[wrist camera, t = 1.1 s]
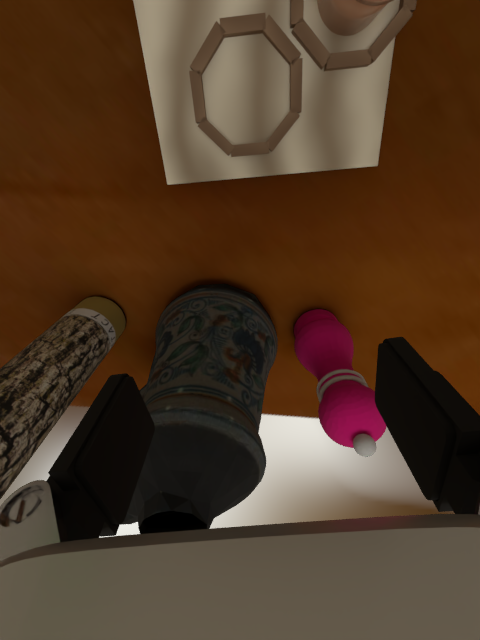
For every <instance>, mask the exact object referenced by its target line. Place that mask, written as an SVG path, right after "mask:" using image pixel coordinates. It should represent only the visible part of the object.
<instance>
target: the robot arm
mask: <svg viewBox="0 0 480 640" xmlns="http://www.w3.org/2000/svg"><path fill="white" fill-rule="evenodd" d="M375 404H376V407H377V409H378V411H379V413H380V415H381V416H382V418H383V420H384V422H385V424H386V426H387V427H388V429H389V431H390V433H391V435H392V437H393V439H394V441H395V442H396V444H397V446H398V448H399V450H400V452H401V454H402V455H403V457H404V459H405V461H406V463H407V465H408V467H409V468H410V470H411V472H412V474H413V476H414V478H415V480H416V482H417V483H418V485H419V487H420V489H421V491H422V493H423V494H424V496H425V497H426V499H427V500H433V502H434V504H435V506H436V507H437V509H438V511H439V512H442V511H454V513H455V514H434V515H433V514H431V515H410V516H390V517H374V518H359V519H343V520H328V521H313V522H298V523H284V524H272V525H271V524H270V525H256V526H242V527H229V528H216V529H201V530H188V531H176V532H163V533H150V534H137V535H125V536H114V535H116V533H117V530H118V527H119V524H122V523H123V522H124V520H125V518H126V515H127V512H128V509H129V506H130V503H131V500H132V497H133V494H134V491H135V488H136V485H137V482H138V479H139V476H140V473H141V470H142V467H143V464H144V462H145V459H146V456H147V453H148V450H149V447H150V444H151V441H152V438H153V435H154V432H155V425H154V422H153V420H152V417H151V415H150V413H149V411H148V409H147V407H146V404H145V402H144V400H143V398H142V396H141V394H140V391H139V389H138V387H137V385H136V383H135V381H134V379H133V377H131V376H130V377H129V375H128V374H117V375H112V376H110V377H109V378H108V380H107V381H106V383H105V385H104V386H103V388H102V389H101V391H100V392H99V394H98V396H97V397H96V399H95V400H94V402H93V403H92V405H91V407H90V408H89V410H88V411H87V413H86V414H85V416H84V418H83V419H82V421H81V422H80V424H79V426H78V427H77V429H76V430H75V432H74V433H73V435H72V436H71V438H70V439H69V441H68V443H67V444H66V446H65V447H64V449H63V450H62V452H61V454H60V455H59V457H58V458H57V460H56V461H55V463H54V464H53V466H52V468H51V469H50V471H49V472H48V473H49V474H50V477H49V478H48V480H47V481H44V480H37V481H33V482H30V483H28V484H26V485H24V486H22V487H20V488H19V489H18V490H16V491H15V492H14V493H12V494H11V495H10V496H9V497H8V498H7V499H6V500H5V501H4V503H3V504H2V505H1V506H0V640H480V416H479V414H478V413H477V412H476V411H475V410H474V409H473V408H472V407H471V406H470V405H469V404H468V403H467V402H466V400H465V399H464V398H463V397H462V396H461V395H460V394H459V393H458V392H457V391H456V390H455V389H454V388H453V386H452V385H451V384H450V383H449V382H448V381H447V380H446V379H445V378H444V377H443V376H442V375H441V374H440V373H439V372H437V371H433V369H432V368H431V367H430V366H429V365H428V364H427V363H426V362H425V361H424V359H423V358H422V357H421V356H420V355H419V354H418V353H417V352H416V351H415V350H414V348H413V347H412V346H411V345H410V344H409V343H408V342H407V341H406V340H405V339H404V338H403V337H396V338H389V339H385V340H384V341H383V343H382V344H379V346H378V359H377V373H376V387H375ZM99 536H114V537H104V538H99Z"/></svg>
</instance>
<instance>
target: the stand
mask: <svg viewBox="0 0 480 640" xmlns="http://www.w3.org/2000/svg"><path fill="white" fill-rule="evenodd" d="M416 1H417V0H394V1H392V2H389V3H388V4H387V5H386V6H385V7H384V8H383V9H382V10H381V12H380V13H379V14H378V15H377V16H376V17H375V18H374V20H373V21H372V22H371V23H370V24H369V25H368V26H367V27H366V28H365V29H363V30H362V31H360V32H358V33H357V34H354V35H350V36H341V35H337V34H335V33H333V32H332V31H330V30H329V29H328V28H327V27H326V26H325V24H324V22H323V21H322V19H321V16H320V13H319V10H318V4H317V0H133V2H134V7H135V12H136V18H137V23H138V28H139V34H140V39H141V45H142V50H143V55H144V61H145V66H146V72H147V77H148V82H149V88H150V93H151V98H152V104H153V109H154V115H155V120H156V125H157V131H158V136H159V141H160V147H161V152H162V158H163V163H164V168H165V174H166V179H167V185H171V184H182V183H193V182H204V181H215V180H226V179H238V178H249V177H260V176H271V175H282V174H293V173H304V172H315V171H326V170H338V169H349V168H360V167H371V166H378V159H379V151H380V144H381V137H382V129H383V122H384V115H385V107H386V100H387V92H388V85H389V78H390V70H391V63H392V56H393V48H394V41H395V36H396V35H397V34H398V32H399V31H400V30H401V29H402V27H403V26H404V25H405V24H406V23H407V21H408V20H409V19H410V18H411V16H412V15H413V14H412V12H413V11H414V10H415V8H416Z"/></svg>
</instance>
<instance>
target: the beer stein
mask: <svg viewBox="0 0 480 640" xmlns="http://www.w3.org/2000/svg"><path fill="white" fill-rule="evenodd" d="M156 347H157V348H156V353H155V356H154V360H153V363H152V366H151V371H150V374H149V378H148V382H147V384H146V385H145V386H144V387H143V388H142V389H141V390H140V394H141V396H142V398H143V400H144V402H145V404H146V407H147V409H148V411H149V413H150V415H151V417H152V420H153V422H154V425H155V432H154V435H153V438H152V441H151V444H150V447H149V450H148V453H147V456H146V459H145V462H144V464H143V467H142V470H141V473H140V476H139V479H138V482H137V485H136V488H135V491H134V494H133V497H132V500H131V503H130V506H129V509H128V512H127V515H126V518H125V520H124V522H123V523H122V524H132V523H135V522H138V525H139V531H140V534H150V533H163V532H176V531H188V530H201V529H209V528H210V525H211V523H212V521H213V519H214V518H215V517H217V516H219V515H220V514H222V513H224V512H225V511H227V510H229V509H231V508H232V507H234V506H236V505H237V504H239V503H240V502H241V501H243V500H244V499H245V498H246V497H248V496H249V495H250V494H251V492H252V491H253V490H254V489H255V488H256V486H257V485H258V484H259V482H260V481H261V479H262V477H263V475H264V471H265V467H266V456H265V452H264V449H263V445H262V441H261V439H260V436H259V434H258V431H259V424H260V420H261V412H262V404H263V398H264V391H265V385H266V381H267V377H268V373H269V370H270V368H271V367H272V365H273V363H274V360H275V357H276V353H277V335H276V331H275V328H274V325H273V323H272V321H271V319H270V317H269V315H268V313H267V312H266V310H265V309H264V308H263V306H262V305H261V303H260V302H259V301H258V299H257V298H256V296H255V295H254V294H251V293H249V292H246V291H243V290H241V289H238V288H235V287H232V286H230V285H227V284H214V285H198V286H197V287H195V288H193V289H191V290H190V291H188V292H186V293H185V294H183V295H181V296H179V297H178V298H176V299H175V300H173V301H172V302H171V303H170V304H169V305H168V306H167V307H166V309H165V310H164V311H163V313H162V315H161V317H160V319H159V321H158V324H157V327H156Z"/></svg>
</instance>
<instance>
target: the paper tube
mask: <svg viewBox="0 0 480 640" xmlns="http://www.w3.org/2000/svg"><path fill="white" fill-rule="evenodd" d="M125 324H126V321H125V316H124V314H123V312H122V310H121V309H120V308H119V307H118V306H117V305H116V304H115V303H114V302H112V301H110V300H108V299H106V298H102V297H89V298H86V299H84V300H83V301H81V302H80V303H79V304H78V305H76V306H75V307H74V308H73V309H72V310H70V311H69V312H68V313H67V314H65V315H64V316H63V317H62V318H61V319H59V320H58V321H57V322H56V323H55V324H53V325H52V326H51V327H50V328H49V329H47V330H46V331H45V332H44V333H43V334H41V335H40V336H39V337H38V338H37V339H35V340H34V341H33V342H32V343H31V344H29V345H28V346H27V347H26V348H25V349H23V350H22V351H21V352H20V353H19V354H17V355H16V356H15V357H14V358H13V359H11V360H10V361H9V362H8V363H7V364H5V365H4V366H3V367H2V368H1V369H0V499H1V498H2V496H3V495H4V494H5V492H6V491H7V489H8V488H9V487H10V485H11V484H12V482H13V481H14V480H15V479H16V477H17V476H18V475H19V473H20V472H21V470H22V469H23V468H24V466H25V465H26V464H27V462H28V461H29V459H30V458H31V457H32V455H33V454H34V452H35V451H36V450H37V449H38V447H39V446H40V445H41V443H42V442H43V440H44V439H45V438H46V436H47V435H48V433H49V432H50V431H51V430H52V428H53V427H54V425H55V424H56V423H57V421H58V420H59V419H60V417H61V416H62V414H63V413H64V412H65V410H66V409H67V407H68V406H69V405H70V404H71V402H72V401H73V400H74V398H75V397H76V395H77V394H78V393H79V391H80V390H81V389H82V387H83V386H84V385H85V383H86V382H87V380H88V379H89V378H90V376H91V375H92V374H93V372H94V371H95V370H96V368H97V367H98V365H99V364H100V363H101V361H102V360H103V359H104V357H105V356H106V355H107V353H108V352H109V350H110V349H111V348H112V346H113V345H114V343H115V342H116V341H117V339H118V338H119V336H120V335H121V334H122V332H123V331H124V328H125Z"/></svg>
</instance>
